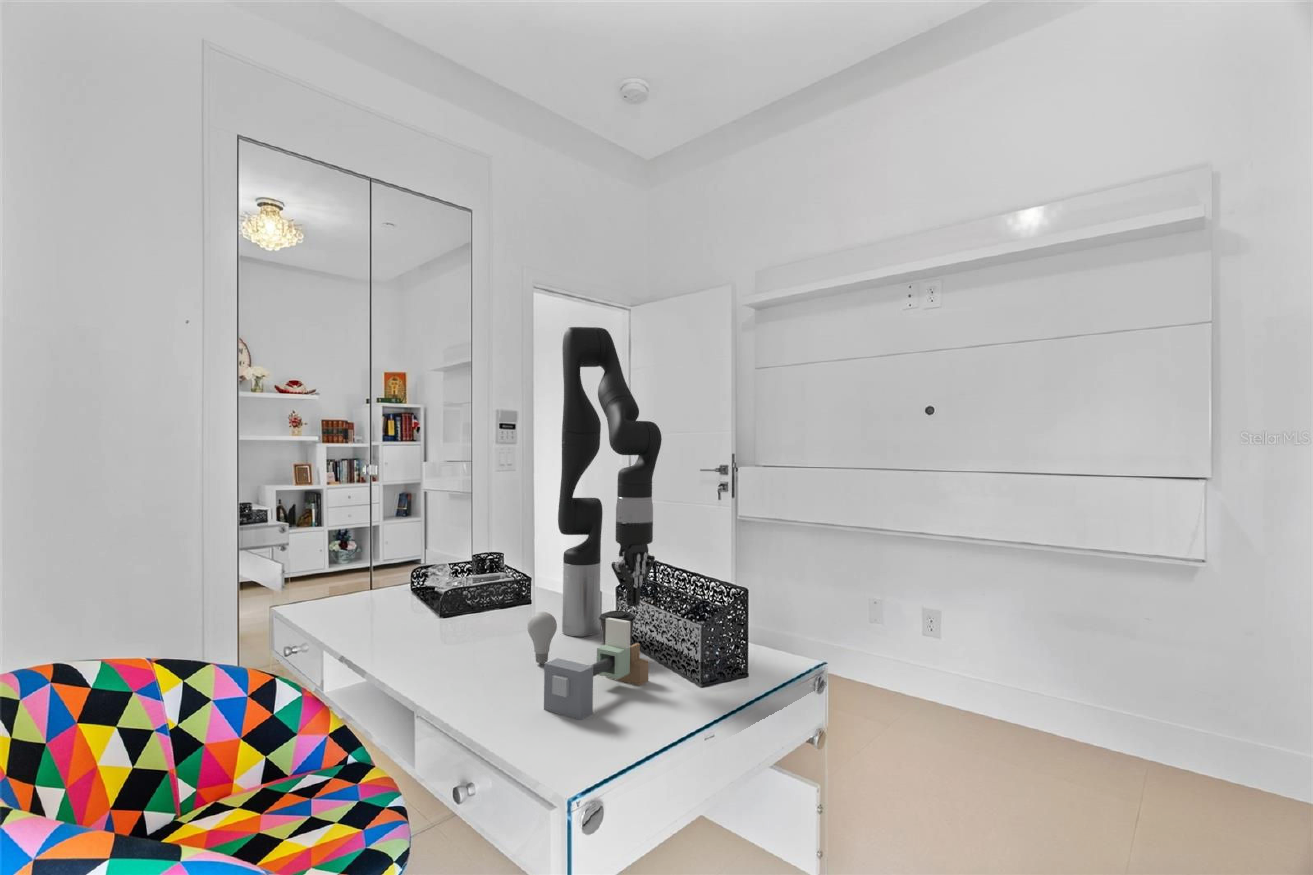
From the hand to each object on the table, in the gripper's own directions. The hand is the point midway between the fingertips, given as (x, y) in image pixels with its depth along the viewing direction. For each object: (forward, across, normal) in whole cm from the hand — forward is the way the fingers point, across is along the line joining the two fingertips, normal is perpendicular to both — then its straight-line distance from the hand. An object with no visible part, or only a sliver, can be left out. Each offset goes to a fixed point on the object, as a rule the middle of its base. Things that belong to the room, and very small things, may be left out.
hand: (633, 605), depth 133 cm
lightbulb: (+14, +4, -20) cm, 25 cm away
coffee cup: (+14, -8, -9) cm, 19 cm away
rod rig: (+14, +11, 0) cm, 18 cm away
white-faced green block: (+12, +7, 0) cm, 14 cm away
